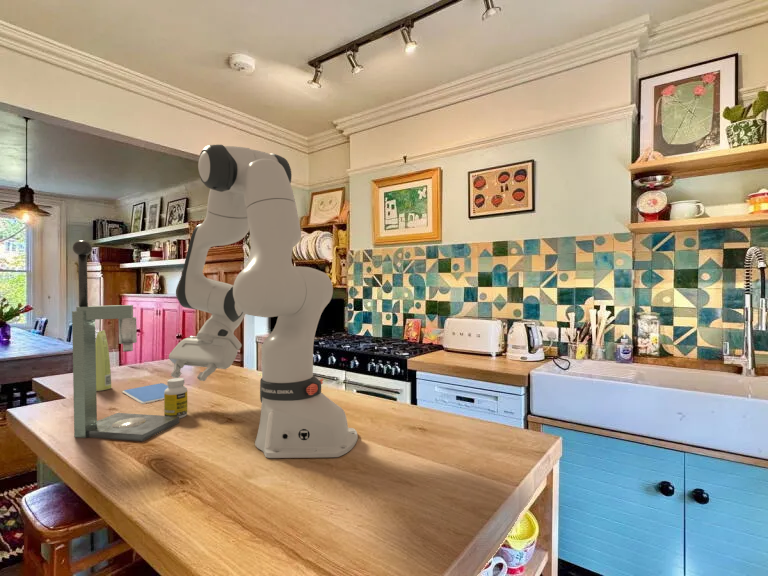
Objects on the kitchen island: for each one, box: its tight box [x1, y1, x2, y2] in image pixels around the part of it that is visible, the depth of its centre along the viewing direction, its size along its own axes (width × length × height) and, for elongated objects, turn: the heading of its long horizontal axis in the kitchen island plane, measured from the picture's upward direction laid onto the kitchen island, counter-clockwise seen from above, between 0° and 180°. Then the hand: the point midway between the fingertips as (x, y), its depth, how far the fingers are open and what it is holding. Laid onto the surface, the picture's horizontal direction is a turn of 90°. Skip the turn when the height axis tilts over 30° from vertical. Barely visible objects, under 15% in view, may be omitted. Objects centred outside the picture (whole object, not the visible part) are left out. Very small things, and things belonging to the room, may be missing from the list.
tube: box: [95, 329, 112, 392], centre depth 133 cm, size 6×5×20 cm
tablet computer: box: [121, 382, 168, 405], centre depth 127 cm, size 19×13×1 cm, turn 49°
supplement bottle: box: [163, 377, 188, 419], centre depth 105 cm, size 5×5×10 cm
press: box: [71, 240, 180, 442], centre depth 96 cm, size 18×13×45 cm
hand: (187, 378), depth 109 cm, fingers open, 8 cm apart
